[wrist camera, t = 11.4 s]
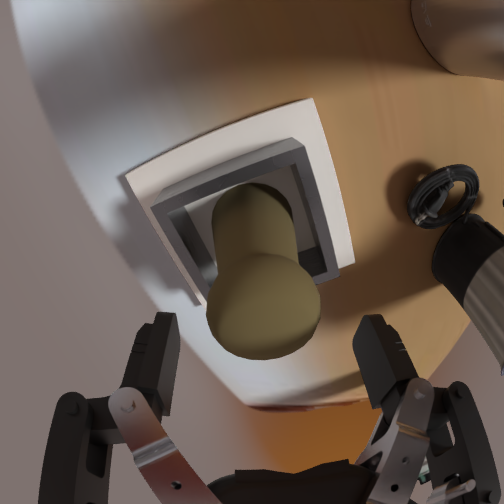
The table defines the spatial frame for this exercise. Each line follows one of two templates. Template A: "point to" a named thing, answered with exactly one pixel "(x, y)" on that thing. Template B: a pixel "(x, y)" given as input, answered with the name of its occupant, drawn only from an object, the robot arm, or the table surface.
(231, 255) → the cork
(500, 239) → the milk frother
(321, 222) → the socket collar
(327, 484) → the robot arm
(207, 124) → the table surface
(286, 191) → the socket base
